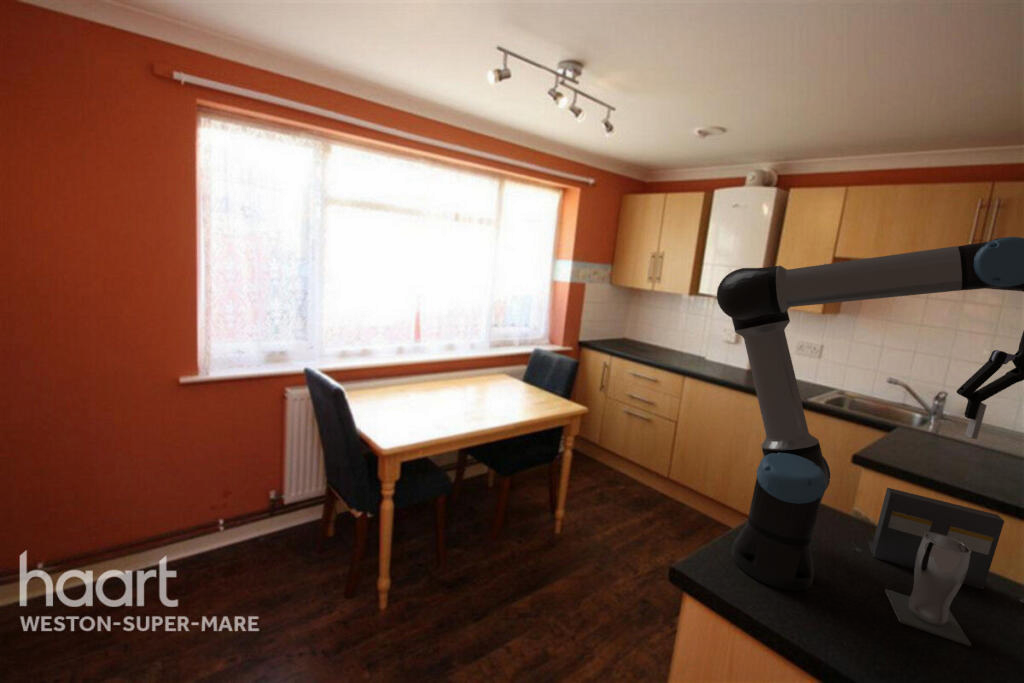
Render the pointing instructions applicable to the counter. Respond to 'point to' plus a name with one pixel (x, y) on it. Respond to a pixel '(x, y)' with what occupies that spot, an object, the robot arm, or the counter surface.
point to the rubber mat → (906, 617)
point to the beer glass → (937, 577)
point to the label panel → (935, 531)
